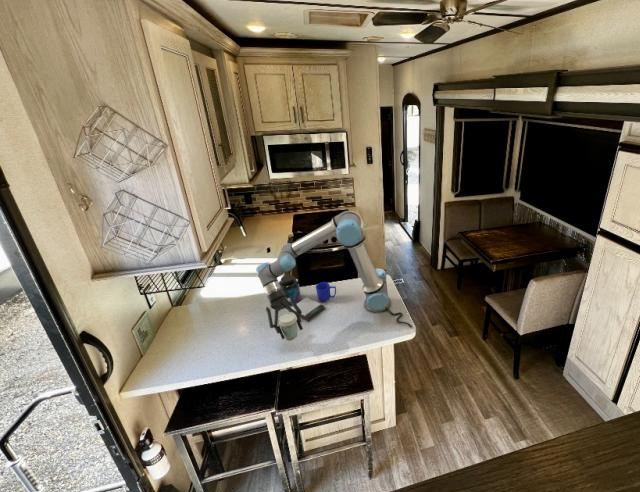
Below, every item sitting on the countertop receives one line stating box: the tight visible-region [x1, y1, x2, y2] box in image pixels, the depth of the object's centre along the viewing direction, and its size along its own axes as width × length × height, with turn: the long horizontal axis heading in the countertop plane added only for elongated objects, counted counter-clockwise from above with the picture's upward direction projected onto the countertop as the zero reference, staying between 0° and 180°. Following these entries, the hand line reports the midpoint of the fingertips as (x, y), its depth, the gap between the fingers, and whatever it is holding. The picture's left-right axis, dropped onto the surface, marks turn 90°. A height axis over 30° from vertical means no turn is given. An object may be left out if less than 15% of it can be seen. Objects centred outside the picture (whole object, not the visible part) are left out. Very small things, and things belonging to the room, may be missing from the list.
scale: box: [290, 297, 326, 322], centre depth 192 cm, size 15×13×3 cm
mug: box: [315, 281, 337, 303], centre depth 200 cm, size 8×12×10 cm
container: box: [278, 274, 302, 307], centre depth 198 cm, size 12×12×17 cm
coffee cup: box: [278, 311, 298, 342], centre depth 161 cm, size 8×8×12 cm
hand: (292, 334), depth 160 cm, fingers closed on coffee cup, 9 cm apart
